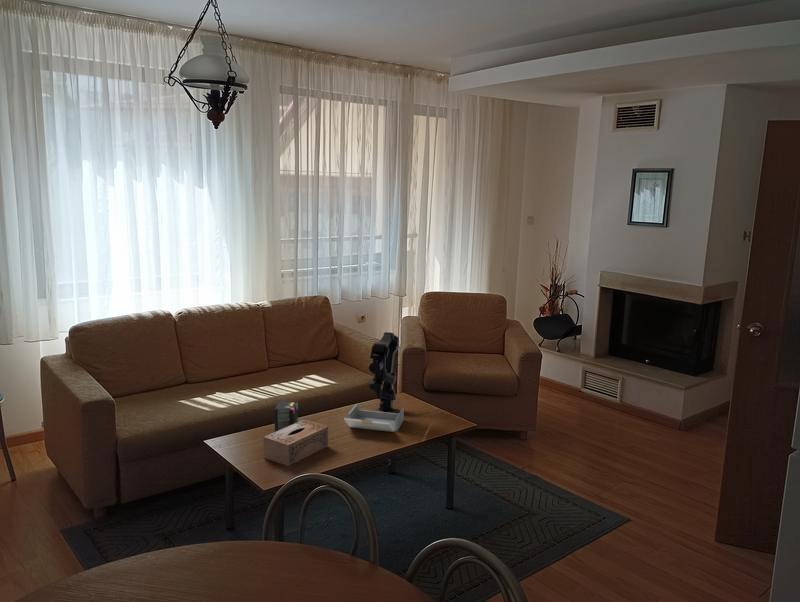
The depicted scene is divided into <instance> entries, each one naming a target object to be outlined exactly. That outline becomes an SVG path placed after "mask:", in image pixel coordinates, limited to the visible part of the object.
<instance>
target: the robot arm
mask: <svg viewBox="0 0 800 602" xmlns="http://www.w3.org/2000/svg"><path fill="white" fill-rule="evenodd" d="M400 342H401V341H400V338H399V337H398V336H397V335H396V334H395V333H394V332H390V331H389V332H387V331H386V332H384V333H383V335H382V337H381V339H380V340H379V341H375V342H374V343H373V345H371V352H370V355H369V358H370V359H372V361H371V362H370V364H369V366H368V370H369V373H371V374H373V378H372V381H371V382H370V384H369V385H368V390H371V391H372V390H374V393H375V395H376V397H377V400H380V401H379V407H378V408H377V410H378V409H379V410H378V411H381V410H382V411H381V412H384V411H385V412H388V411H389V412H392V411H395V408H394V407H393V401H395V400H396V392H395V389H394V384H395V383H396V380H397V374H396V373H397V372H395V371H393V369H394V368H393V367H394V360H395V355H396V353H397V352H398V349H399V347H400ZM391 410H392V411H391ZM389 412H388V413H389Z"/></svg>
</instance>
